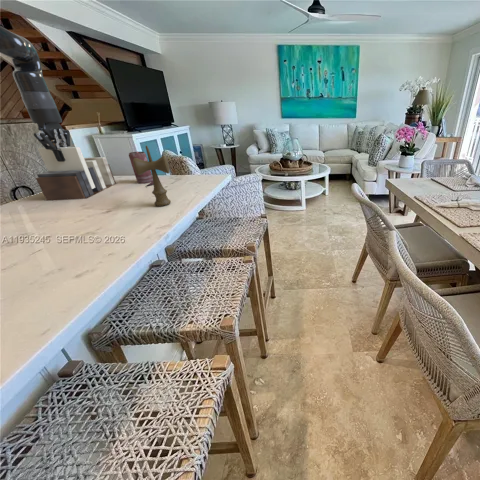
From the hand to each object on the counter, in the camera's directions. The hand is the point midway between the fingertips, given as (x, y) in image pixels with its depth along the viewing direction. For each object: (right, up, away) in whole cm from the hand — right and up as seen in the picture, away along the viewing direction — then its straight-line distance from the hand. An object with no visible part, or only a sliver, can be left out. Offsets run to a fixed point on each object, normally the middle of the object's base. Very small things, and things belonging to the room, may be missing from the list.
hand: (64, 160), depth 96 cm
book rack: (0, -11, +9) cm, 14 cm away
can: (+16, -5, +22) cm, 27 cm away
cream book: (0, -9, +5) cm, 11 cm away
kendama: (+37, -16, -2) cm, 40 cm away
